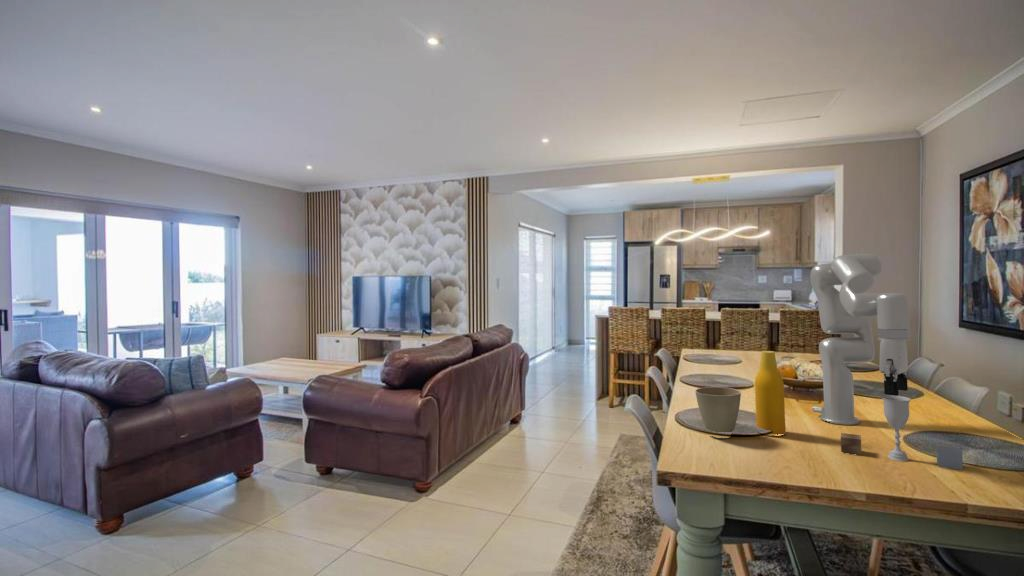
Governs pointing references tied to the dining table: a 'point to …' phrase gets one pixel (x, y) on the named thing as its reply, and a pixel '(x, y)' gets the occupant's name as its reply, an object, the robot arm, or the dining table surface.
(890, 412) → the chalice
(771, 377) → the beer bottle
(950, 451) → the slate block
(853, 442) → the walnut block
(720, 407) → the plant pot
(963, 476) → the dining table surface
